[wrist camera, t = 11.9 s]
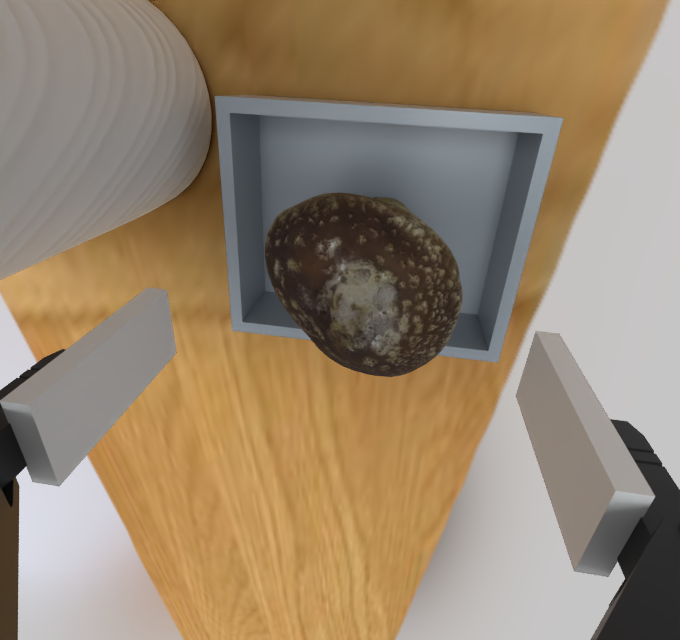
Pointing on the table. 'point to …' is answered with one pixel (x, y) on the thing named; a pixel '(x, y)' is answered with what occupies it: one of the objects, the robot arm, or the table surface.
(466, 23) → the table surface
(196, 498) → the table surface
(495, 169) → the bin
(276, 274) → the mushroom
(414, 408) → the table surface
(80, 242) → the vase
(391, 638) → the table surface
